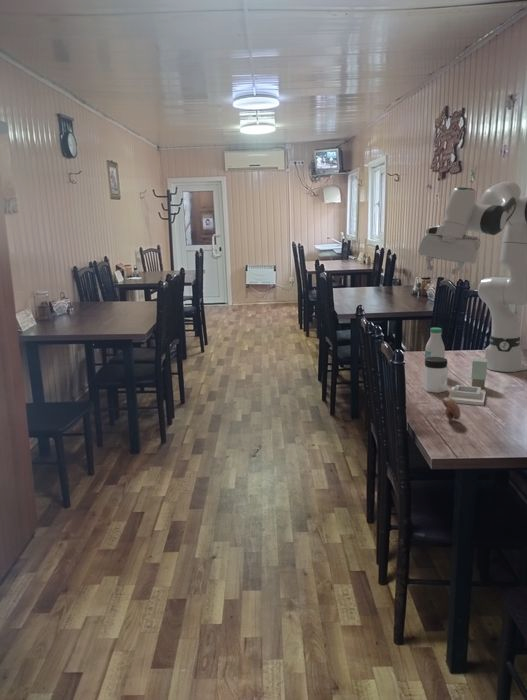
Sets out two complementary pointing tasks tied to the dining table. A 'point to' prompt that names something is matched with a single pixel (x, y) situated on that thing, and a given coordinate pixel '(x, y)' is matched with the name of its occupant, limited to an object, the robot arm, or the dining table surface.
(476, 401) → the socket
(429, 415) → the dining table surface
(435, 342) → the milk bottle
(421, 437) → the dining table surface
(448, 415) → the mushroom
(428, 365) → the jar
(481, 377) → the plug
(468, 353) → the dining table surface
